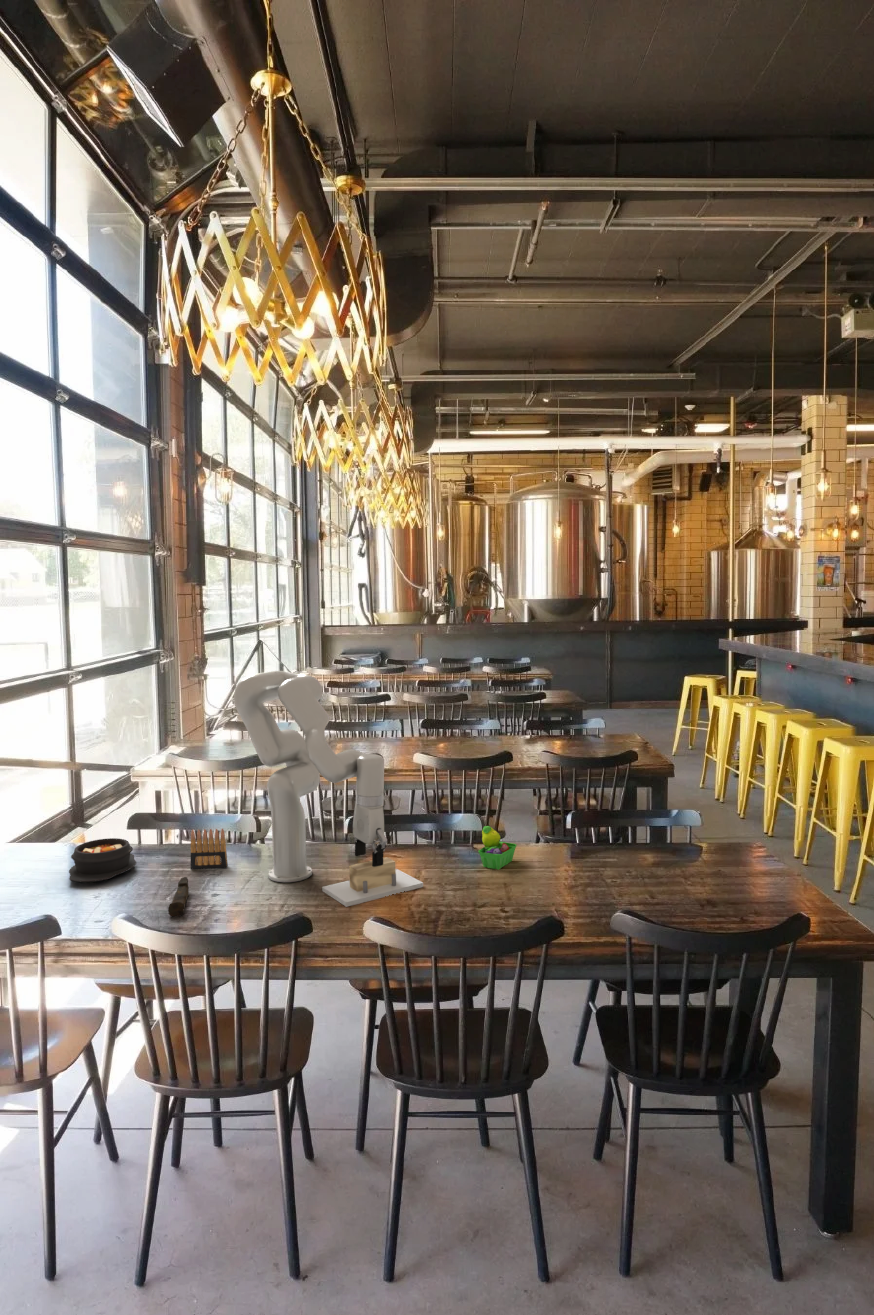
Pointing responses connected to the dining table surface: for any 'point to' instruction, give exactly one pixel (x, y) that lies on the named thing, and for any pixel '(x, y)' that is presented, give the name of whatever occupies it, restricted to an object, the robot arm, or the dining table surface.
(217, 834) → the ammunition clip
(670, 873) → the dining table surface
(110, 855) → the casserole
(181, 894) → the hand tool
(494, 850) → the fruit basket
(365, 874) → the block
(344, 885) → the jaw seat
